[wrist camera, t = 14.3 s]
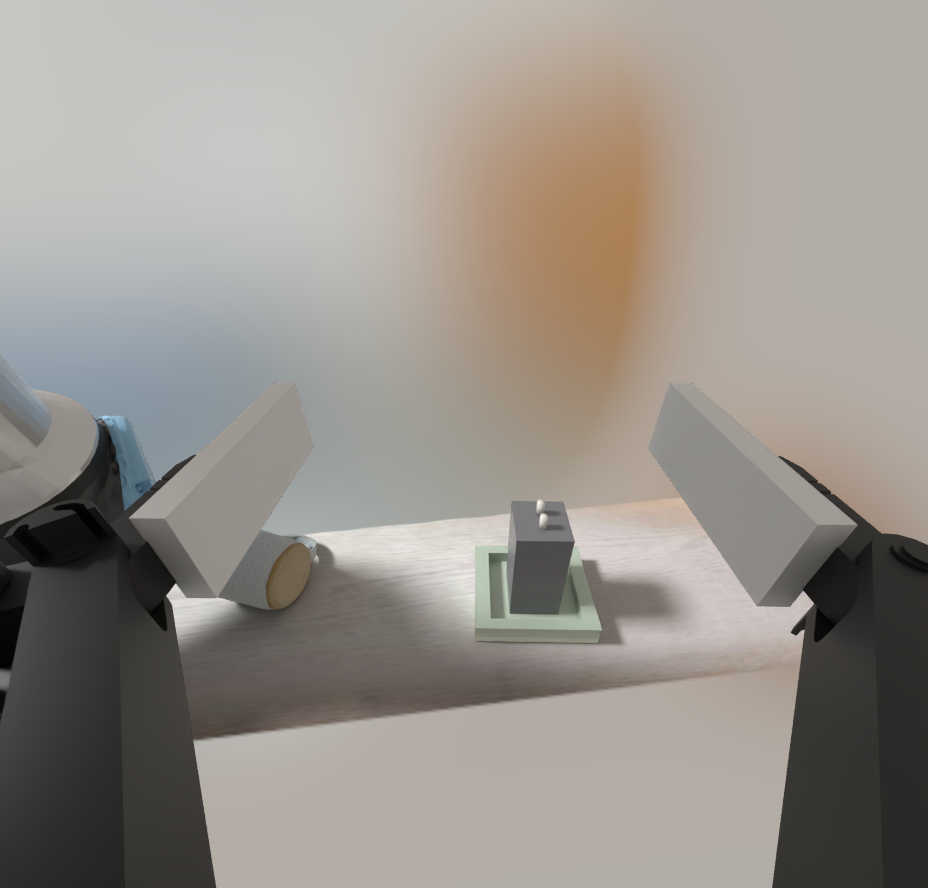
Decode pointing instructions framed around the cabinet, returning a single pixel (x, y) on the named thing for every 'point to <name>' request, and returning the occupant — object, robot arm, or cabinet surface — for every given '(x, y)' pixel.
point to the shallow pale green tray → (498, 625)
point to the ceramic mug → (271, 571)
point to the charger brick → (538, 556)
